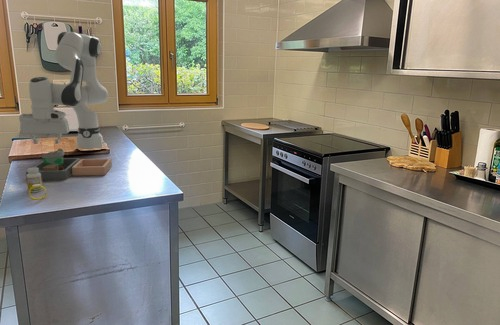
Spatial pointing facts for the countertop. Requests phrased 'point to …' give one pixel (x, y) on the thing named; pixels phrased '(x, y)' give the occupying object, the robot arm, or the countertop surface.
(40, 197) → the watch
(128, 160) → the countertop surface
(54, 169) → the walnut block
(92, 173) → the terracotta bin
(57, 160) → the food container
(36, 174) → the supplement bottle
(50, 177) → the charcoal bin
